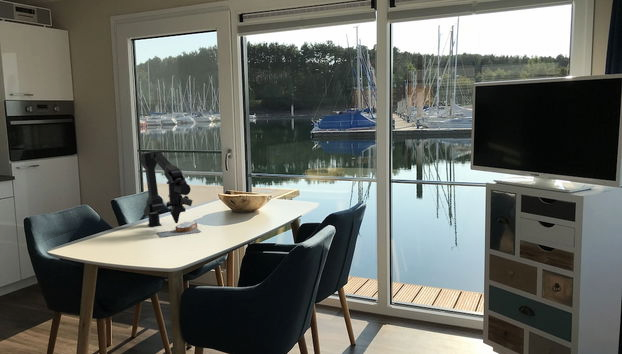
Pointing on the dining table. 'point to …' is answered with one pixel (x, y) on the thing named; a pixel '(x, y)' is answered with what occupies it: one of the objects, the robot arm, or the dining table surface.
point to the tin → (186, 227)
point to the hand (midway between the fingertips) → (176, 223)
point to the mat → (176, 233)
